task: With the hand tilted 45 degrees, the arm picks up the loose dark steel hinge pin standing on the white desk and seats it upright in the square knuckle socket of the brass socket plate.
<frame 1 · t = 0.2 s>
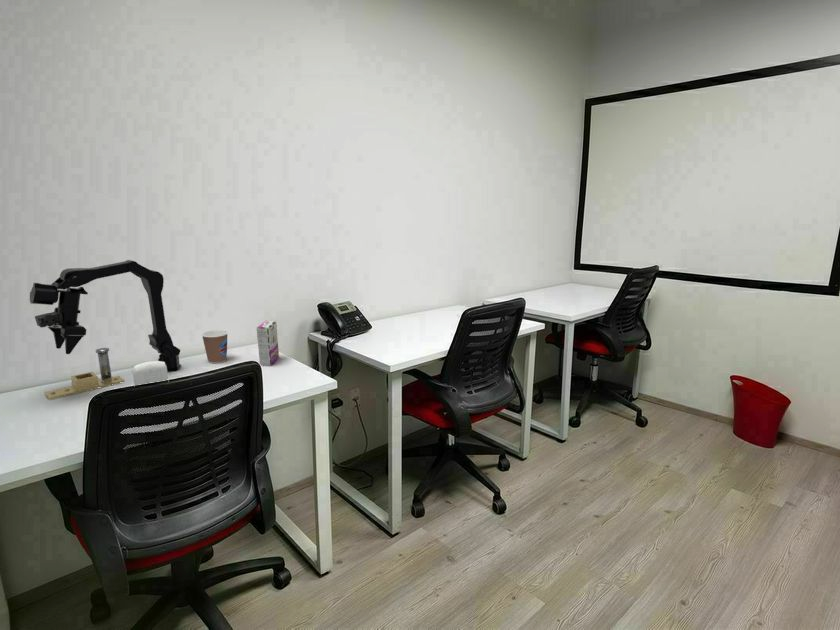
hand: (63, 351, 164), 15 cm above the table, tool pointing down, fingers open, 9 cm apart
photo printer: (153, 396, 167), on the table
brass socket plate: (86, 388, 173), on the table
candy bar box: (269, 362, 203), on the table
coffee cup: (217, 361, 203), on the table
hinge pin: (106, 378, 182), on the table
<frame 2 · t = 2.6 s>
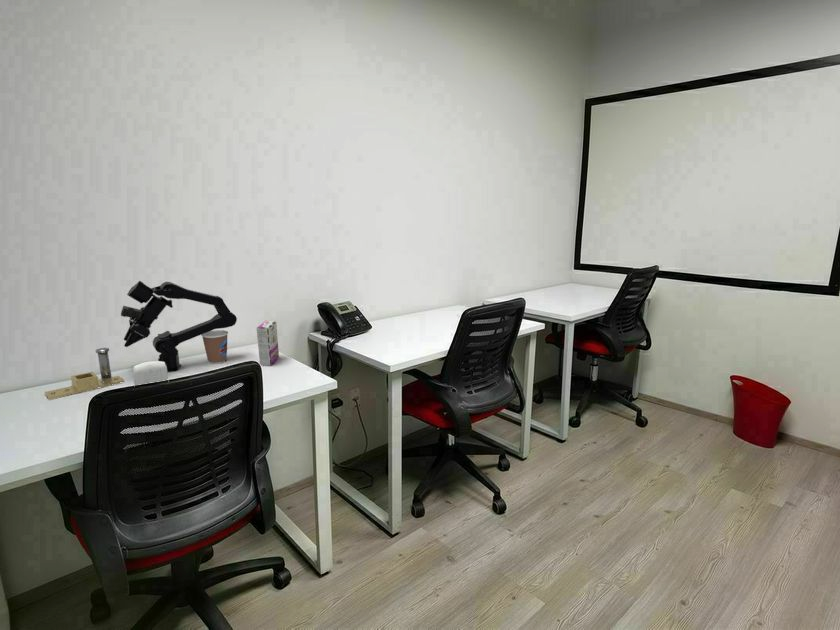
hand: (125, 343, 183), 13 cm above the table, tool tilted 40°, fingers open, 9 cm apart
coffee cup: (217, 361, 203), on the table, touching arm
everything else where it was.
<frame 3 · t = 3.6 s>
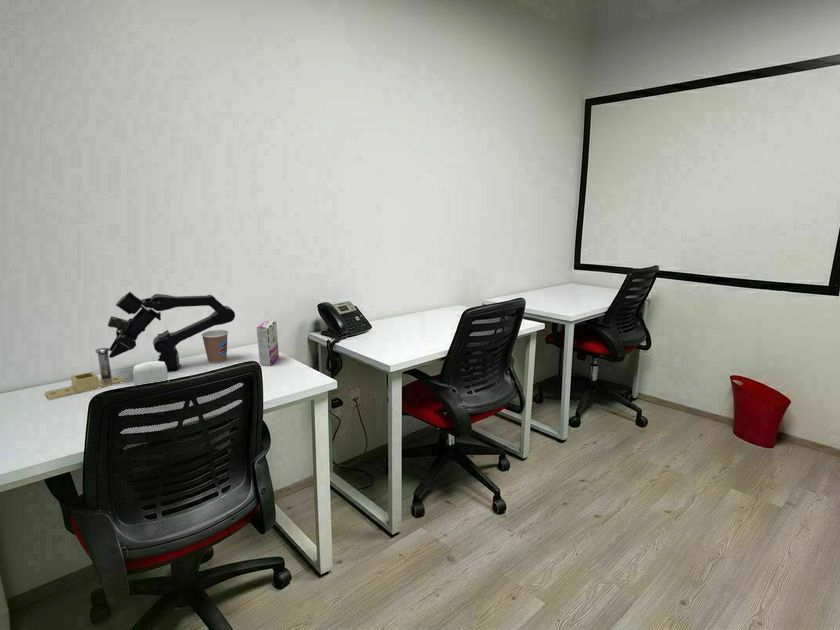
hand: (110, 353, 181), 9 cm above the table, tool tilted 45°, fingers open, 9 cm apart
coffee cup: (217, 360, 203), on the table
everything else where it was.
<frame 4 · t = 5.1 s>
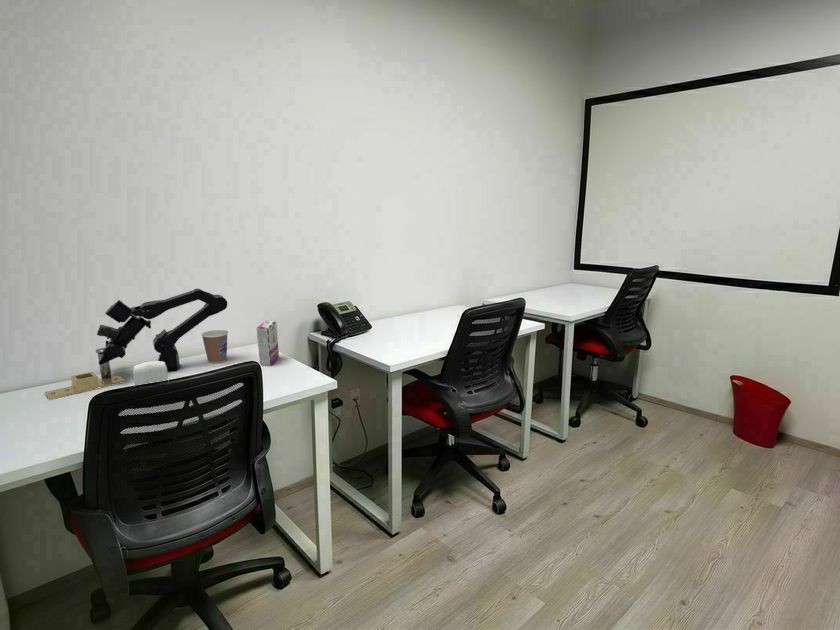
hand: (99, 362, 180), 7 cm above the table, tool tilted 45°, fingers closed on hinge pin, 3 cm apart
hinge pin: (106, 378, 182), on the table, touching gripper
everything else where it was.
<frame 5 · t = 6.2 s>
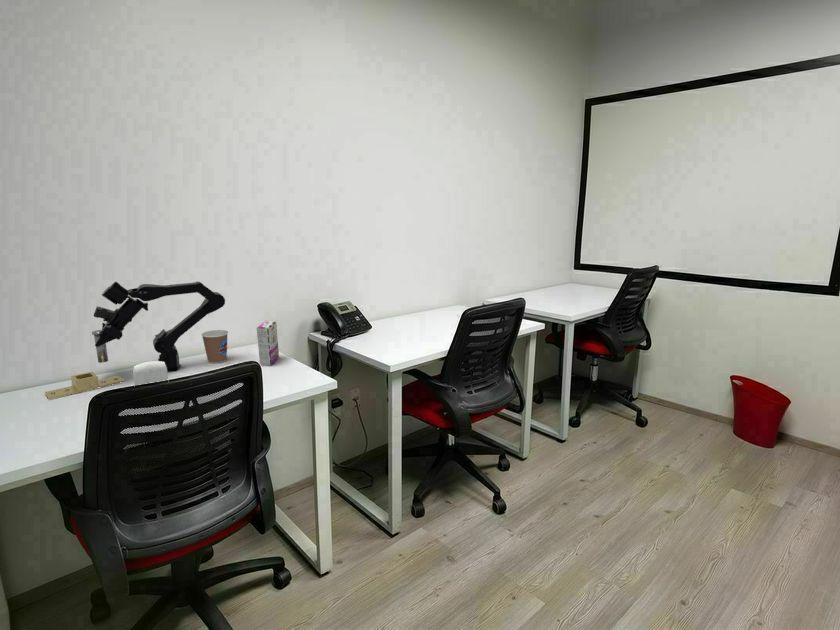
hand: (96, 344, 178), 14 cm above the table, tool tilted 45°, fingers closed on hinge pin, 3 cm apart
hinge pin: (103, 361, 180), point 7 cm above the table, touching gripper
everything else where it was.
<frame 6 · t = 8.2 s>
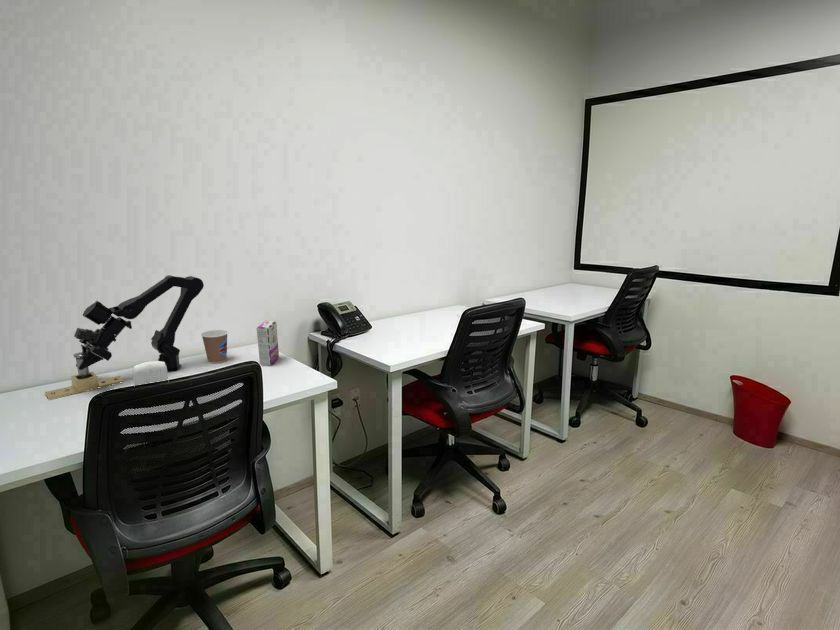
hand: (78, 368, 170), 8 cm above the table, tool tilted 45°, fingers closed on hinge pin, 3 cm apart
hinge pin: (85, 384, 173), point 1 cm above the table, touching gripper
everything else where it was.
when the fingers open (8 cm above the table, at t = 8.5 s): hinge pin drops 1 cm, resting in brass socket plate.
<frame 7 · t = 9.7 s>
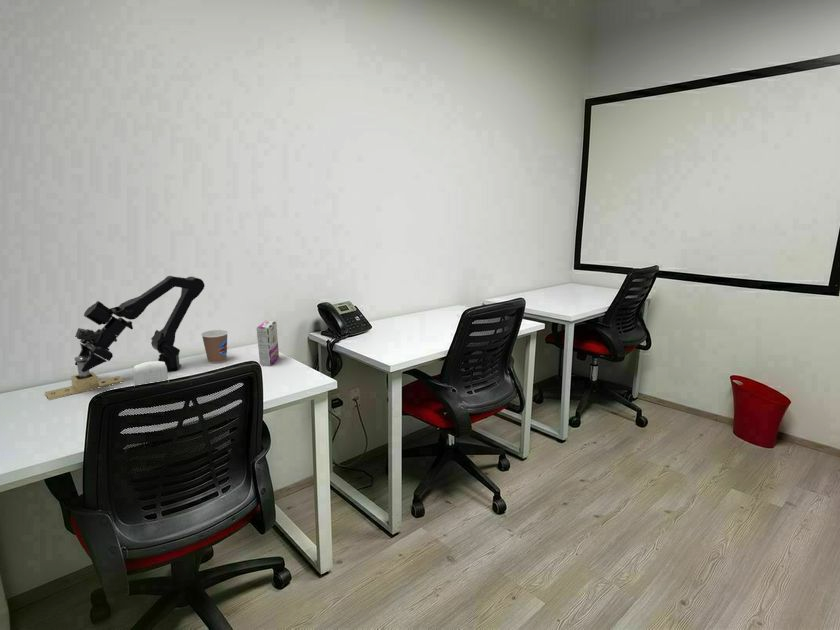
hand: (79, 368, 170), 8 cm above the table, tool tilted 45°, fingers open, 9 cm apart
hinge pin: (86, 388, 173), resting in brass socket plate
everything else where it was.
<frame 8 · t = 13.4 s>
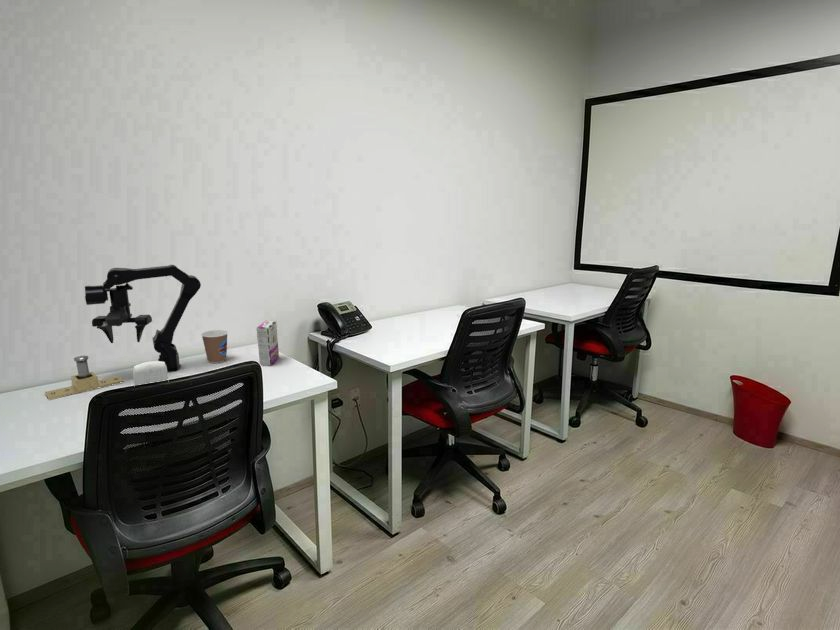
hand: (125, 342, 183), 13 cm above the table, tool pointing down, fingers open, 9 cm apart
nothing on the table moved.
at the end: hinge pin 0.1 cm from the brass socket plate (horizontally); hinge pin resting in brass socket plate; hinge pin tilted 1° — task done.
